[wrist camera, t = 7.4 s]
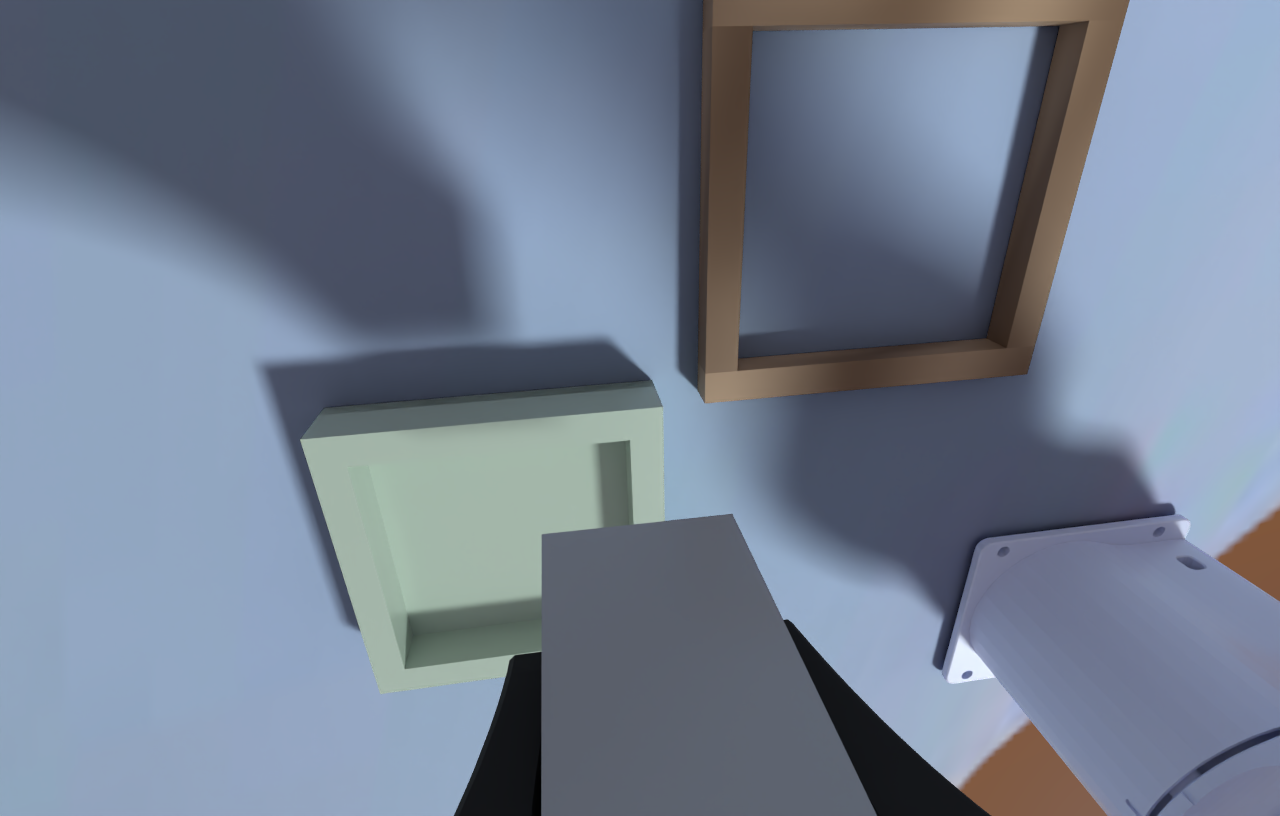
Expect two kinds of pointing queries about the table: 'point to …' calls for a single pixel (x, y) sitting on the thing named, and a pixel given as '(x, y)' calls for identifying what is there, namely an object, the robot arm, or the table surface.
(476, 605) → the sage tray
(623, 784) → the stone block
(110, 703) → the table surface
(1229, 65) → the table surface
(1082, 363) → the table surface
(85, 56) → the table surface
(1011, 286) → the walnut frame
